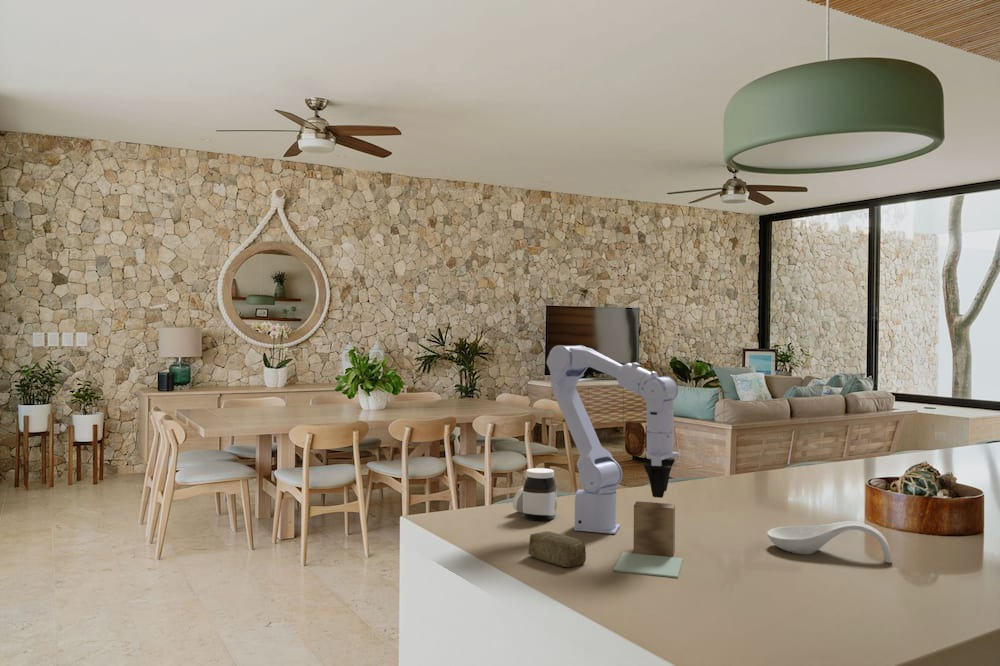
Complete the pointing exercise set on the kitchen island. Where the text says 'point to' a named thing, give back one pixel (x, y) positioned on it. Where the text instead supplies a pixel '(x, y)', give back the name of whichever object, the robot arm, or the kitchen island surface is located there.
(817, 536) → the spoon rest
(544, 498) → the spread jar
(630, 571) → the mat
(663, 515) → the walnut block
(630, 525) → the kitchen island surface
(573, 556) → the stone block
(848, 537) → the kitchen island surface
